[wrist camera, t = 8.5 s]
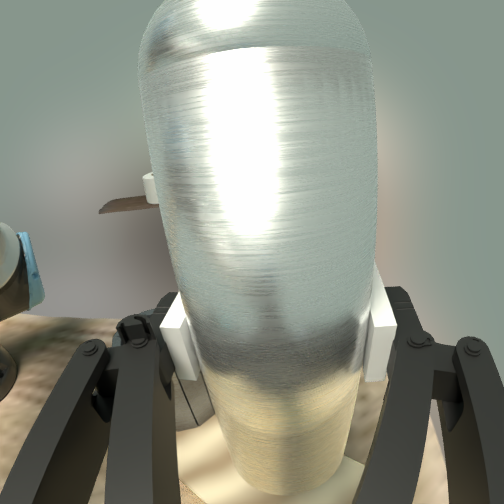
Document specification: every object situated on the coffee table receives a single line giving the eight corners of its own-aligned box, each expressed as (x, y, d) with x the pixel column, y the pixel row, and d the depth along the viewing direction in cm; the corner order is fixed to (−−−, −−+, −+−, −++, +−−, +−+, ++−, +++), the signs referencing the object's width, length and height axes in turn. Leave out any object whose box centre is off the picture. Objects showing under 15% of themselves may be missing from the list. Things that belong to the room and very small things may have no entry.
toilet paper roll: (188, 190, 134) (184, 165, 129) (177, 202, 121) (172, 174, 116) (155, 194, 136) (150, 170, 132) (141, 206, 123) (135, 180, 118)
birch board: (120, 415, 36) (116, 408, 36) (192, 366, 45) (189, 359, 44) (301, 573, 17) (302, 572, 16) (380, 479, 25) (383, 473, 25)
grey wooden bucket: (130, 399, 37) (98, 337, 33) (187, 360, 44) (167, 297, 39) (175, 445, 31) (141, 384, 26) (237, 396, 37) (221, 329, 32)
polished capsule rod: (345, 494, 12) (375, -83, 3) (222, 490, 14) (82, -32, 4) (339, 371, 21) (333, 13, 11) (247, 372, 22) (196, 27, 12)
